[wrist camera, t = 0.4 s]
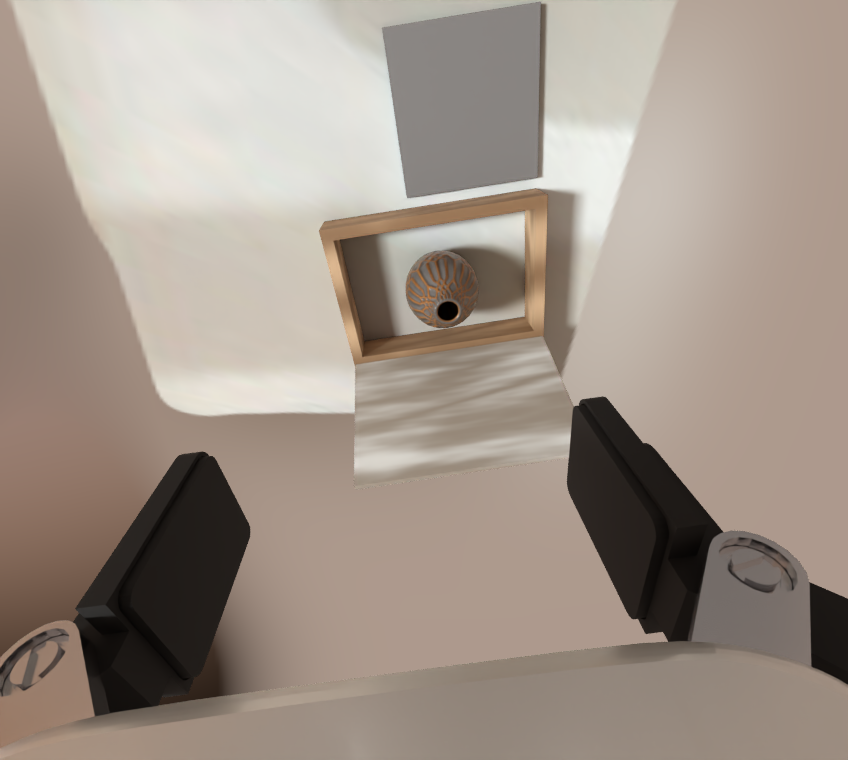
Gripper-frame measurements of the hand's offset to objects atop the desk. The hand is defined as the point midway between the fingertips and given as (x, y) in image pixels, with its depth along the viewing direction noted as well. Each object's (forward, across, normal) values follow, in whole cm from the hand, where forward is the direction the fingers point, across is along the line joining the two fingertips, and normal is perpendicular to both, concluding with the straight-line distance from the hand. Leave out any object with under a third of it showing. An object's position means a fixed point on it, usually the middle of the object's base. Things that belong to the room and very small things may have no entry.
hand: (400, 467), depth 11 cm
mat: (+33, -7, -8) cm, 35 cm away
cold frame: (+34, -4, +8) cm, 35 cm away
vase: (+34, -4, +6) cm, 34 cm away
